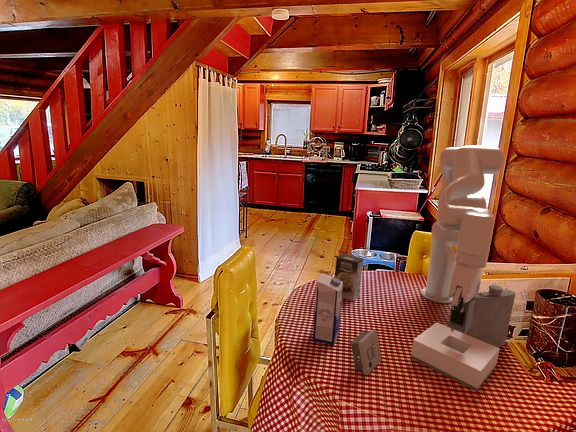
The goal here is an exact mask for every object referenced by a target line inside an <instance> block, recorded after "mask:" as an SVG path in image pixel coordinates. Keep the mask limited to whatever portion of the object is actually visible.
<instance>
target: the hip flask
mask: <svg viewBox="0 0 576 432" xmlns="http://www.w3.org/2000/svg"><path fill="white" fill-rule="evenodd" d="M474 298H476V299H475V305H474V310H473V316H472V322H471V327H470V329H469V330H468V331H467V332H466V335H469V336H471V337H473V338H476V339H478V340H481V341H483V342H486V343H488V344H490V345H493V346H495V347H498V348H501V347H503V346H506V341H507V336H508V331H509V327H510V322H511V317H512V312H513V309H514V303H515V302H514V301H515V298H516V292H515V291H514V290H510V289H503V287H502V286H499V285H497V284H490V285H489V286H488V291H482V292H478V294H477V295H476V296H475V297H474Z"/></svg>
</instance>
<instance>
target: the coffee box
mask: <svg viewBox="0 0 576 432" xmlns="http://www.w3.org/2000/svg"><path fill="white" fill-rule="evenodd" d="M363 264H364V258H363V257H359V256H355V255H351V254H347V253H341V254H339V255H338V256H336V259H335V267H334V268H335V270H334V271H335V272H334V278H336V279H338V280H340V281H342V282H343V287H342V299H345V300H348V301H352V302H355V301H356V300H357V299H358V298H359V297H360V292H361V291H360V290H361V286H362V285H361V283H362V282H361V281H362V274H363Z"/></svg>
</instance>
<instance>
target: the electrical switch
mask: <svg viewBox="0 0 576 432" xmlns="http://www.w3.org/2000/svg"><path fill="white" fill-rule="evenodd" d="M350 347H351V352H352V358H353V363H354V369H355V370H357V371H360V372H362V374H363V375H364V376H368V375H369V374H370V373H371V372H373V370H374V368H376V367H377V366H378V364H380V362H381V361H382V357H381V356H382V354H381V351H380V345H379V338H378V332H377V330H376V329H371V330H370V331H362V332H361V333H360V334H359V335H357V336H356V337H355V338H354V339H353V340H352V341H351V342H350Z"/></svg>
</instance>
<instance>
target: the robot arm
mask: <svg viewBox="0 0 576 432" xmlns="http://www.w3.org/2000/svg"><path fill="white" fill-rule="evenodd" d="M504 162H505V156H504V152H503V150H502V149H501V148H499V147H497V146H489V145H485V146H484V145H464V146H461V147H445V148H444V149H442V151H441V152H440V153H439V168H440V171H441V172H440V173H441V177H442V185H441V191H440V192H441V194H440V195H439V197H438V201H437V221H435V222H434V223H433V224H432V227H431V250H430V256H429V257H430V258H429V265H428V271H427V272H428V273H427V277H426V278H427V279H426V284H425V285H426V286H425V287H424V288H422V289H421V293H420V294H421V295H422V296H423V298H425V299H427V300H428V301H432V302H435V303H440V304H450V303H451V305H453V307H452V314H451V322H453V323H455V324H458V325H460V326H462V325H463V323H464V317H465V312H464V310H465V306H466V302H468V301H470V300H471V299H472V298H474V297H475V296H476V295H477V294H478V293H480V292H479V291H480V288H481V284H482V283H481V281H482V275H483V269H485V268H486V267H487V264H488V263H487V262H488V257H489V253H490V245H491V241H492V235H493V229H494V225H495V215H494V214H493V212H492V211H491V210H490V209H489V208H487V207H488V206H487V201H486V198H485V196H484V197H483V196H482V195H480V194H476V193H478V192H480V191H481V190H482V189H483V188H484V186H485V174H486V175H496V174H498V173H500V172H501V170H502V169H503V167H504ZM452 247H456V250H455V251H454V249H453V248H452ZM453 297H454V298H453ZM460 298H463V299H464V300H461V299H460ZM452 299H453V301H452ZM459 302H461V303H462V306H461V304H459Z"/></svg>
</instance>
